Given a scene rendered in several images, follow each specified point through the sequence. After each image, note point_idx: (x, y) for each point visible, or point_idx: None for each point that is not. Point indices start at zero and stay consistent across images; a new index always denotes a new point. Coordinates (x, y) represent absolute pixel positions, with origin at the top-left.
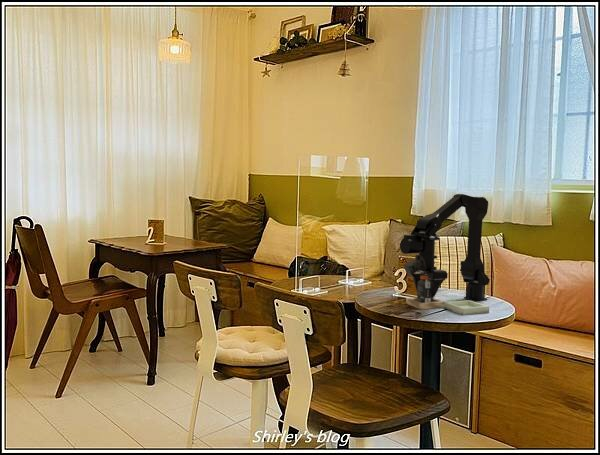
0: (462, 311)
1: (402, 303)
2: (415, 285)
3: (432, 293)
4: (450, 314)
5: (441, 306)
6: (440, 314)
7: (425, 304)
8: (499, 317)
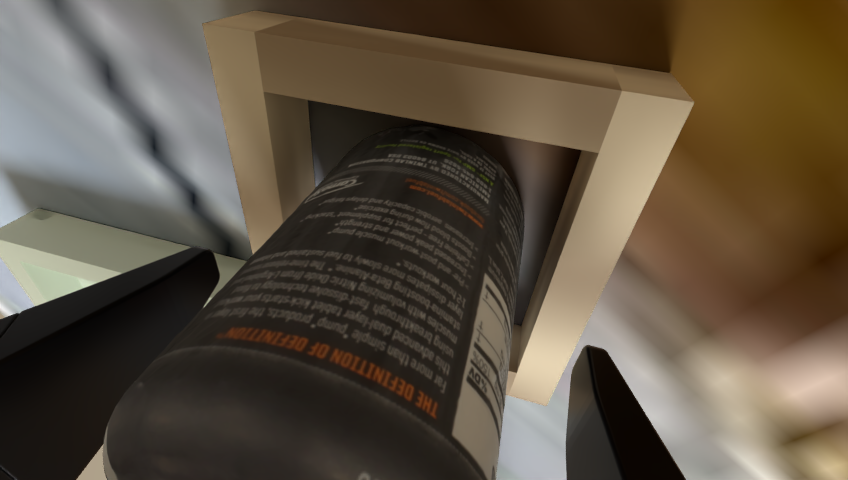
0: (21, 223)
1: (742, 28)
2: (658, 463)
3: (135, 276)
4: (34, 133)
5: None
6: (13, 41)
7: (228, 98)
8: (14, 312)
